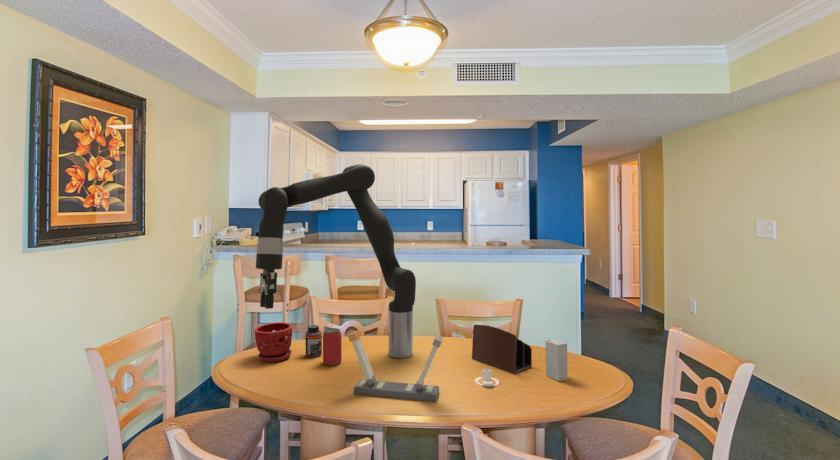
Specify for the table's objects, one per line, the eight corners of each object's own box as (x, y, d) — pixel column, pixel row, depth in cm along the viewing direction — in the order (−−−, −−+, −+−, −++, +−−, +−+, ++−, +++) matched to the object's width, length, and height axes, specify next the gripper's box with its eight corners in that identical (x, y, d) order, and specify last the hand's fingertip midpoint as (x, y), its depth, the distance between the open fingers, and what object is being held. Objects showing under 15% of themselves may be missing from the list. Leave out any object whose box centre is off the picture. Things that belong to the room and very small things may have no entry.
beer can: (337, 367, 148) (337, 333, 148) (319, 365, 150) (319, 332, 149) (344, 360, 155) (344, 328, 154) (327, 359, 156) (327, 327, 156)
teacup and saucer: (492, 390, 130) (493, 377, 130) (469, 385, 135) (469, 372, 134) (503, 381, 138) (503, 369, 138) (480, 376, 142) (480, 364, 142)
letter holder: (514, 375, 143) (515, 333, 142) (471, 359, 158) (471, 322, 157) (532, 368, 149) (532, 328, 149) (488, 353, 164) (489, 317, 164)
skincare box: (568, 379, 139) (568, 343, 138) (557, 382, 137) (558, 345, 136) (554, 373, 144) (555, 338, 144) (544, 375, 142) (545, 339, 142)
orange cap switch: (371, 381, 131) (352, 332, 131) (377, 379, 130) (358, 329, 131) (367, 387, 127) (347, 335, 127) (373, 385, 126) (354, 333, 127)
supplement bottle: (307, 353, 163) (307, 324, 162) (322, 352, 163) (322, 323, 163) (304, 358, 157) (304, 328, 156) (320, 358, 157) (320, 328, 157)
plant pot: (274, 350, 165) (273, 320, 165) (299, 355, 160) (299, 324, 159) (247, 361, 154) (246, 328, 153) (273, 367, 148) (273, 333, 147)
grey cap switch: (416, 383, 128) (436, 334, 126) (422, 386, 128) (443, 337, 126) (413, 388, 124) (434, 338, 122) (420, 392, 124) (441, 341, 122)
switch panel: (360, 385, 133) (360, 378, 133) (439, 392, 128) (439, 385, 128) (353, 394, 126) (353, 386, 126) (435, 401, 122) (435, 394, 122)
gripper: (287, 252, 123) (284, 309, 121) (277, 255, 136) (274, 306, 134) (260, 251, 120) (256, 309, 118) (253, 254, 132) (249, 306, 130)
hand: (266, 307), depth 126 cm, fingers open, 8 cm apart
